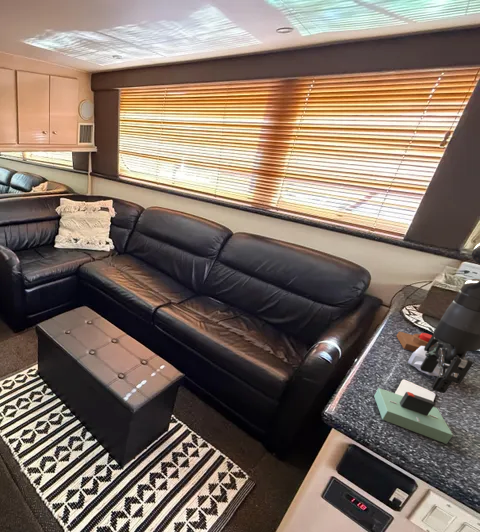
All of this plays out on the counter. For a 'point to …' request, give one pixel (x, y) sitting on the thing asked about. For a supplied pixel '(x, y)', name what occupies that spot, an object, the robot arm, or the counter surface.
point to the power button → (425, 337)
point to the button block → (411, 341)
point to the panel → (412, 417)
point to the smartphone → (414, 390)
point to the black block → (416, 403)
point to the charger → (418, 359)
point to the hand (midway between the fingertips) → (431, 380)
